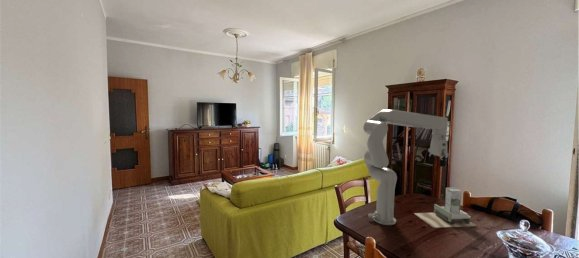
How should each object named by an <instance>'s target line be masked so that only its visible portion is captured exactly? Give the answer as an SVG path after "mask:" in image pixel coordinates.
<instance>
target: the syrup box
mask: <svg viewBox="0 0 579 258" xmlns="http://www.w3.org/2000/svg"><path fill="white" fill-rule="evenodd" d="M461 200H462V190H460V189H459V188H457V187H445V197H444V206H443V207H444V209H445V210H447V211H449V212H451V213H452V214H459V213H460V210H461V202H462V201H461Z"/></svg>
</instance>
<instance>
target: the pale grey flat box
mask: <svg viewBox="0 0 579 258" xmlns="http://www.w3.org/2000/svg"><path fill="white" fill-rule="evenodd" d="M444 207H445V206H440V205H438V204H437V203H434V204H433V213H434V212H435V214H437V215H438V216H440V217H442V218H443V219H445V220H446V221H448V222H450V223H451V224H455V221H464V222H465V223H467V224H468V223H469V222H471V221H470V220H471V219H472V216H471V215H469V213H467V212H466V211H463V210H461V209H460V213H459V214H452V213H451V212H449V211H447V210H445V209H444Z"/></svg>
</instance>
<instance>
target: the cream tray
mask: <svg viewBox="0 0 579 258" xmlns="http://www.w3.org/2000/svg"><path fill="white" fill-rule="evenodd" d="M413 214H414V215H415V216H417V218H419V219H420V220H422V221H424V222H425V224H427V225H428V226H430V227H432V228H433V229H442V228H443V229H446V228H463V227H465V228H466V227H477V224H475V223H473V222H471V221H470V222H469V223H468V224H467V223H465V222H464V221H455V224H451V223H450V222H448V221H446V220H445V219H443V218H442V217H440V216H438V215H437V214H435V212H434V211H433V212H414V213H413Z"/></svg>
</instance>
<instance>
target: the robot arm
mask: <svg viewBox="0 0 579 258" xmlns="http://www.w3.org/2000/svg"><path fill="white" fill-rule="evenodd" d="M448 120H449V119H448V117H446V116H445V117H444V116H437V115H431V114H423V113H418V112H412V111H404V110H398V109H382V110H380V111H378V112H377V113H376V114H374V115H373V116H371V117H370V118H369V119H368V120H366V121H365V123H364V124H363V127H362V128H363V131H364V133H366V134H367V135H369V136H368V139H367V143H366V144H367V149H368V150H367V151H365V153H364V156H363V160H364V163H365V165H366V169H367V170H368V174H369V175H370V177H371V178H372V179H373V180H376V181H377V182H379V184H378V186H377V189H376V206H375V207H376V210H375V211H374V212H373V213H368V214H367V217H368V218H372V219H373V221H375V222H376V223H377V224H380V225H385V226H394V225H395V224H396V223H397V219H396V218H395V217H394V208H395V189H396V184H397V180H398V176H397V173H396V172H395V171H394V170H393V169H391V168H389V167H388V166H389V157H388V154H387V152H386V149H385V147H384V146H385V145H384V140H385V139H384V138H385V136H387V133H388V131H389V126H388V125H395V126H401V127H407V128H409V127H411V128H423V129H426V130H427V129H428V130H432V132H431V141H430V145H429V146H430V147H429V148H428V149H427V153H428V157H429V159H428V163H429V164H434V163H435V160H436V157H435V156H437V157H439V164H438V165H439V167H446V161H447V159H448V157H449V155H450V154H449V152H448V140H447V133H448V124H449V123H448Z"/></svg>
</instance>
